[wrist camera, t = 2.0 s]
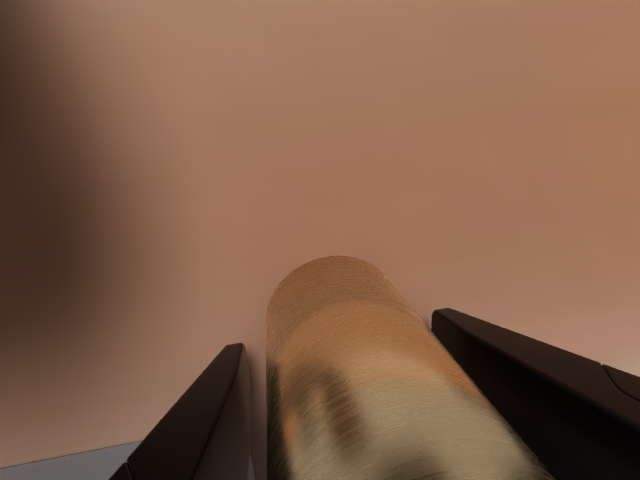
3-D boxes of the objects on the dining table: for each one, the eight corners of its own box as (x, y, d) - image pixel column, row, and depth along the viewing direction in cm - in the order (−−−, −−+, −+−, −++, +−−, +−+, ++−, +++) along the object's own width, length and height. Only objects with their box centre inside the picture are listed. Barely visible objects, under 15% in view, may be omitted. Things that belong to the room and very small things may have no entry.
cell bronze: (396, 246, 9) (779, 581, 2) (397, 361, 10) (648, 792, 4) (256, 267, 8) (228, 756, 2) (275, 384, 10) (299, 930, 3)
